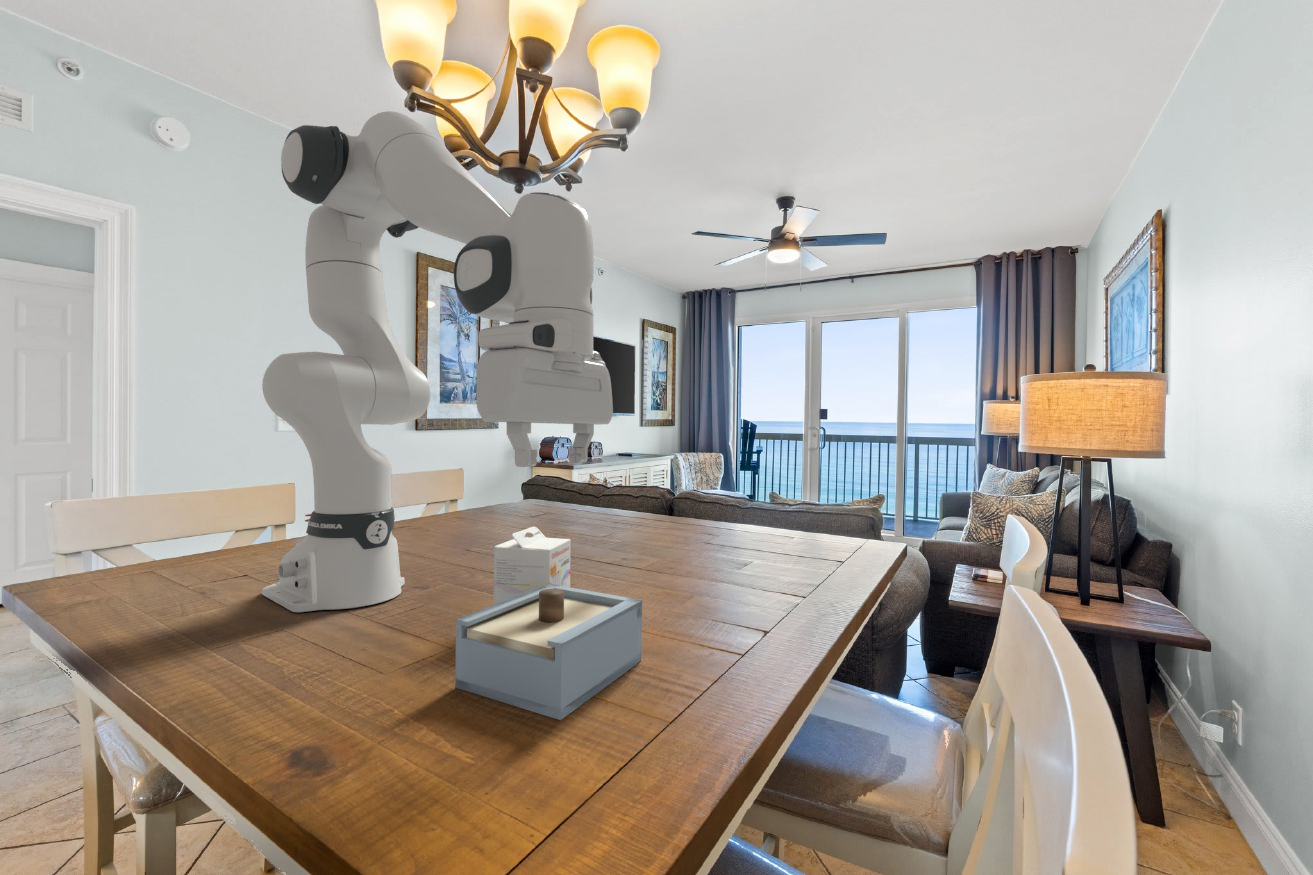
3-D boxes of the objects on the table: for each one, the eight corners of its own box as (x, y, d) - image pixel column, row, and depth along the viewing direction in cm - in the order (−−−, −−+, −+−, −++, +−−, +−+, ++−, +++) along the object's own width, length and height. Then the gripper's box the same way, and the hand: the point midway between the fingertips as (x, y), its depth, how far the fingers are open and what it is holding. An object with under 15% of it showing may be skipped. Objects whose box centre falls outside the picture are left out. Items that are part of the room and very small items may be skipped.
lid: (466, 637, 61) (467, 600, 61) (549, 602, 73) (549, 571, 73) (553, 659, 55) (554, 618, 55) (626, 617, 68) (627, 584, 68)
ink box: (548, 636, 76) (550, 537, 76) (491, 630, 78) (492, 533, 78) (571, 615, 85) (572, 526, 85) (518, 611, 87) (520, 523, 86)
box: (455, 687, 61) (456, 619, 61) (548, 639, 75) (549, 583, 75) (560, 720, 55) (561, 643, 54) (641, 660, 69) (642, 600, 69)
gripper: (583, 354, 75) (583, 459, 75) (465, 329, 56) (465, 468, 57) (625, 351, 72) (624, 461, 72) (514, 324, 54) (514, 470, 54)
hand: (553, 464), depth 64 cm, fingers open, 8 cm apart
